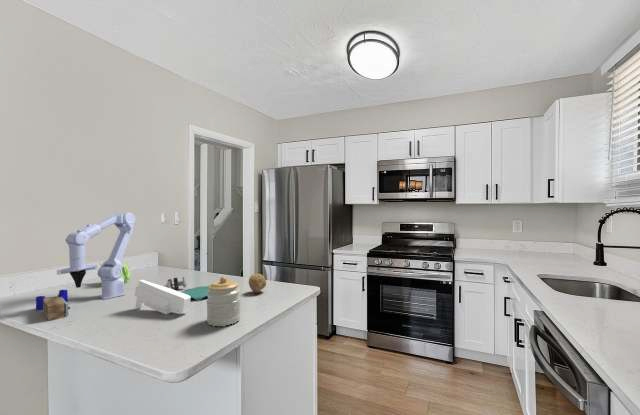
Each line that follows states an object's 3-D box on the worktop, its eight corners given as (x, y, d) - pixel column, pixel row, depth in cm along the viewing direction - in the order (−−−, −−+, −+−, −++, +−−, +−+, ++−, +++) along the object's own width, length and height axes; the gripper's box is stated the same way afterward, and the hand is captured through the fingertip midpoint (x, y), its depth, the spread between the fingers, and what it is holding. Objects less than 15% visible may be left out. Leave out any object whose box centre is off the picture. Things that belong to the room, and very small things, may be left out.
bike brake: (190, 287, 167) (167, 288, 176) (188, 275, 167) (165, 277, 176) (167, 294, 155) (144, 295, 164) (166, 281, 155) (142, 283, 164)
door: (64, 306, 138) (63, 296, 138) (70, 314, 128) (70, 303, 128) (59, 307, 137) (59, 297, 137) (65, 315, 126) (65, 304, 126)
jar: (221, 330, 110) (221, 282, 110) (199, 323, 117) (198, 278, 117) (247, 318, 121) (247, 275, 121) (226, 312, 128) (225, 271, 128)
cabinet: (58, 309, 136) (57, 295, 136) (64, 317, 126) (64, 303, 126) (43, 312, 133) (43, 298, 132) (48, 321, 122) (48, 306, 122)
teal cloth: (170, 298, 151) (170, 293, 151) (216, 284, 177) (216, 280, 177) (197, 304, 142) (197, 299, 142) (241, 288, 168) (241, 283, 168)
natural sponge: (258, 289, 163) (258, 271, 163) (270, 291, 158) (269, 272, 158) (245, 293, 156) (245, 274, 156) (257, 296, 151) (256, 276, 151)
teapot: (96, 288, 170) (95, 266, 170) (99, 283, 182) (99, 262, 182) (129, 284, 178) (129, 263, 178) (131, 279, 190) (130, 259, 190)
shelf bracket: (142, 306, 138) (146, 278, 137) (188, 325, 130) (193, 295, 129) (130, 311, 133) (134, 281, 132) (178, 330, 124) (182, 299, 123)
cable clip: (59, 301, 148) (59, 289, 148) (67, 301, 147) (67, 289, 147) (33, 310, 136) (32, 296, 136) (41, 310, 135) (41, 297, 135)
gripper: (58, 261, 131) (59, 292, 131) (98, 256, 142) (99, 285, 143) (55, 259, 136) (56, 289, 136) (94, 255, 147) (95, 282, 147)
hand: (78, 287), depth 140 cm, fingers closed
